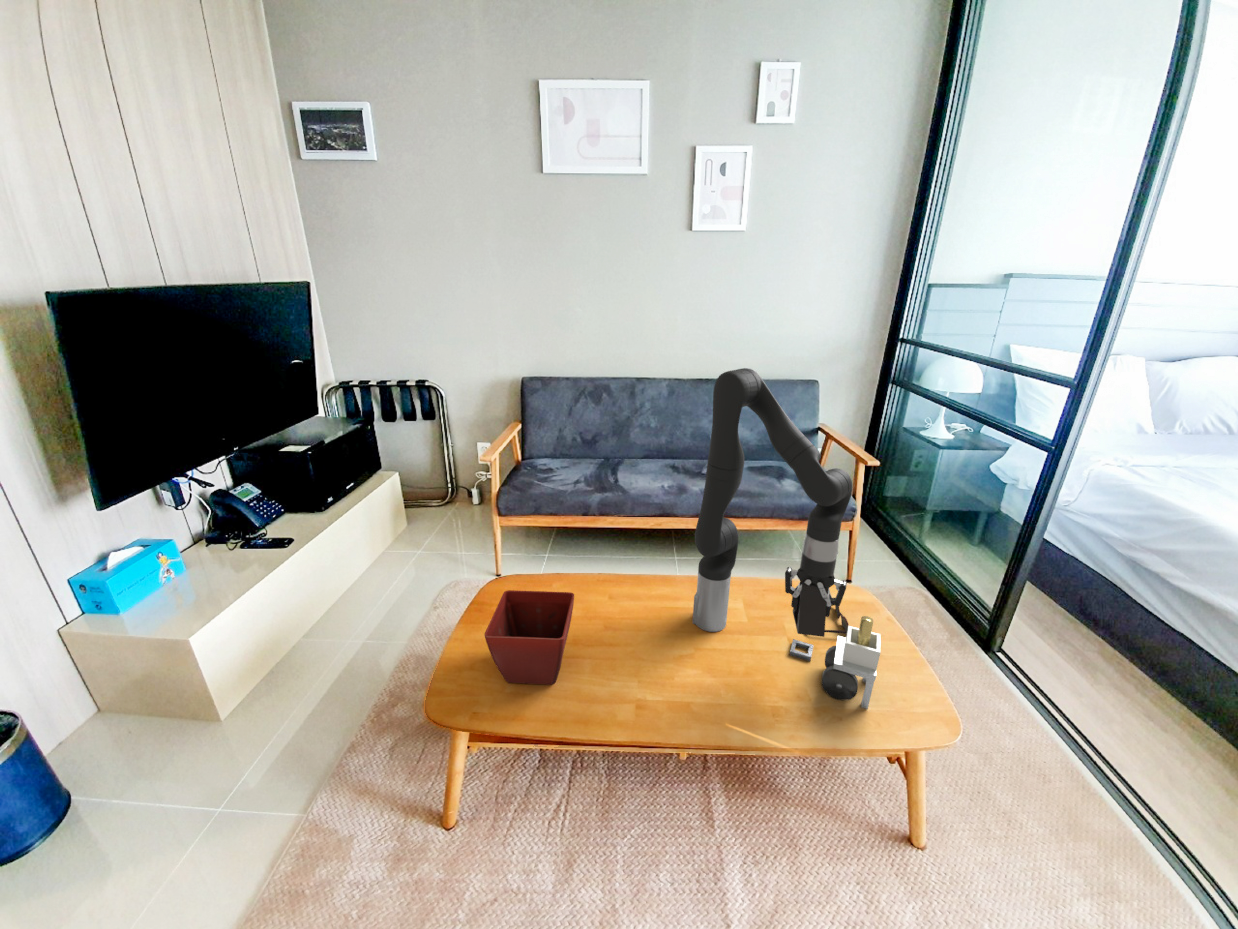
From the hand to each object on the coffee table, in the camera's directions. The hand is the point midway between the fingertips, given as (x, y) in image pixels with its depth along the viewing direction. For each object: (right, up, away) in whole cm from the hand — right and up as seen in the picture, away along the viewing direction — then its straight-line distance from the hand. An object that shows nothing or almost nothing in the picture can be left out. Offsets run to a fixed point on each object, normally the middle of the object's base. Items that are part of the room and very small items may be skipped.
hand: (809, 612), depth 123 cm
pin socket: (+3, -15, +15) cm, 22 cm away
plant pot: (-69, -17, +10) cm, 71 cm away
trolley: (+10, -20, +4) cm, 22 cm away
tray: (+12, -10, -1) cm, 16 cm away
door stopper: (0, -3, +1) cm, 3 cm away
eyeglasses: (+13, -11, +28) cm, 33 cm away
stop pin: (+12, -10, -1) cm, 15 cm away
